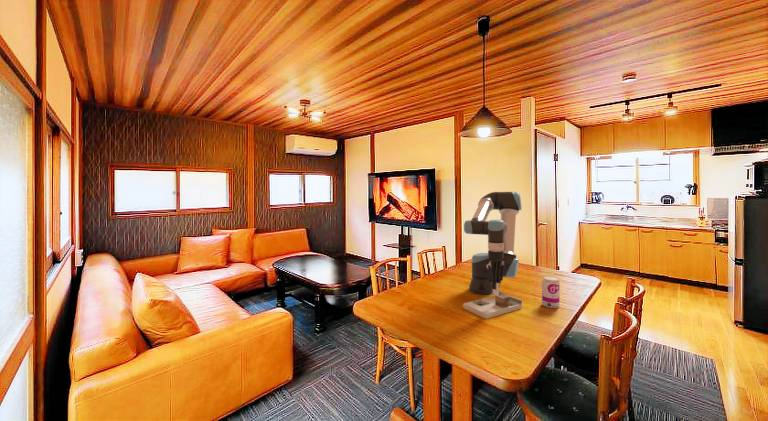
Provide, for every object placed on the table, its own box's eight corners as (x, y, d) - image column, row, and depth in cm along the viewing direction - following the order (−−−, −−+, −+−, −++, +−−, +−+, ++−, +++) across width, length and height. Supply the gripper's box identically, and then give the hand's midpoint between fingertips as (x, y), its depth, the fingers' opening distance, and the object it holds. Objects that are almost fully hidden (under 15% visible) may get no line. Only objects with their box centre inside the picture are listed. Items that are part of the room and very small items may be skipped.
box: (486, 318, 149) (486, 310, 149) (463, 307, 163) (463, 299, 163) (521, 308, 161) (521, 300, 161) (497, 299, 175) (497, 291, 175)
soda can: (561, 309, 159) (562, 281, 158) (544, 308, 161) (545, 280, 160) (556, 303, 167) (556, 276, 166) (539, 302, 169) (540, 276, 168)
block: (502, 307, 156) (502, 298, 155) (495, 304, 160) (495, 295, 160) (509, 306, 158) (509, 296, 158) (502, 302, 162) (502, 293, 162)
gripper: (492, 253, 149) (492, 299, 151) (510, 249, 155) (510, 294, 157) (481, 250, 156) (481, 295, 158) (499, 247, 162) (498, 290, 164)
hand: (495, 294), depth 157 cm, fingers closed
